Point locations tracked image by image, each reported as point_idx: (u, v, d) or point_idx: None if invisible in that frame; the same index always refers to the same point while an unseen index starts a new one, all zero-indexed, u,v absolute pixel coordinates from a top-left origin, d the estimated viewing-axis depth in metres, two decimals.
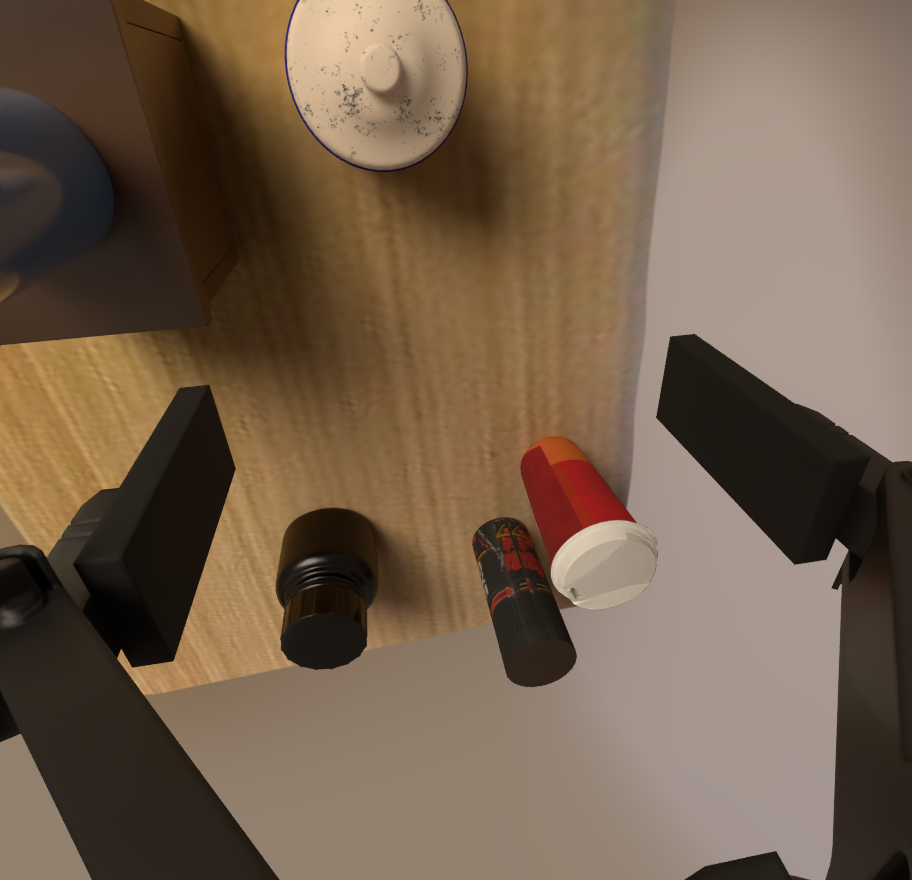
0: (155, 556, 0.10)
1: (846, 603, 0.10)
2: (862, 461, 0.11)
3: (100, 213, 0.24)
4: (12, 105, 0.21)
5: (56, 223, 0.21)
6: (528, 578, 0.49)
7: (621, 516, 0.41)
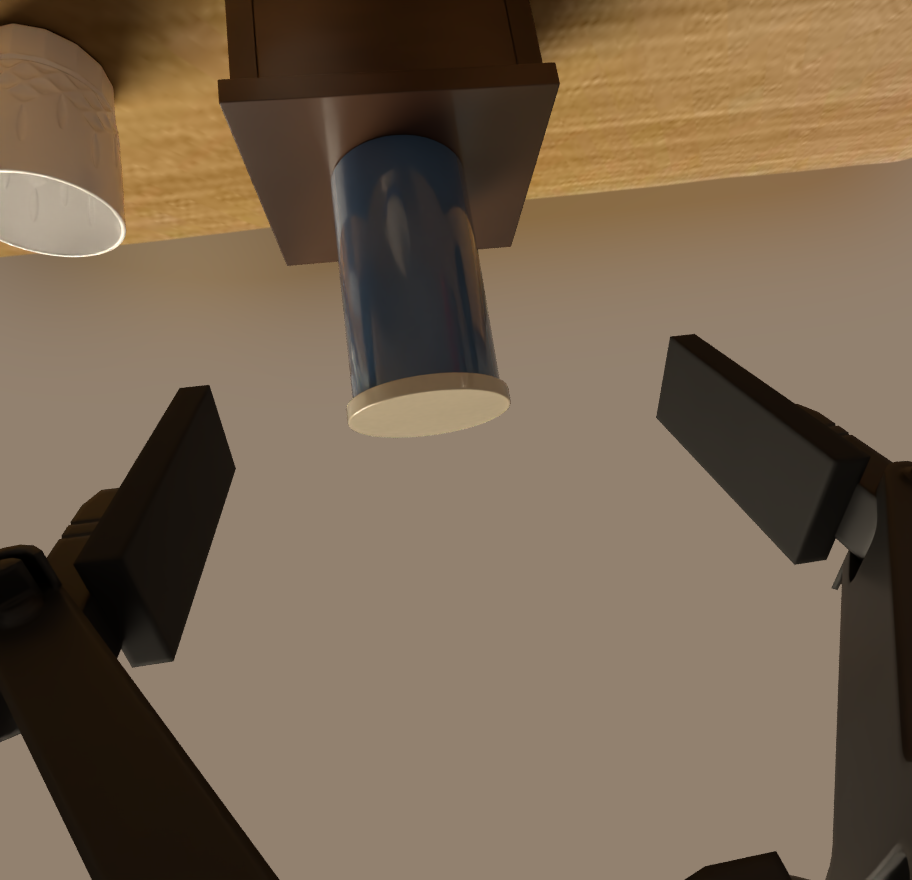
0: (155, 556, 0.10)
1: (846, 603, 0.10)
2: (862, 461, 0.11)
3: (428, 166, 0.26)
4: (345, 213, 0.26)
5: (433, 245, 0.25)
6: None
7: None
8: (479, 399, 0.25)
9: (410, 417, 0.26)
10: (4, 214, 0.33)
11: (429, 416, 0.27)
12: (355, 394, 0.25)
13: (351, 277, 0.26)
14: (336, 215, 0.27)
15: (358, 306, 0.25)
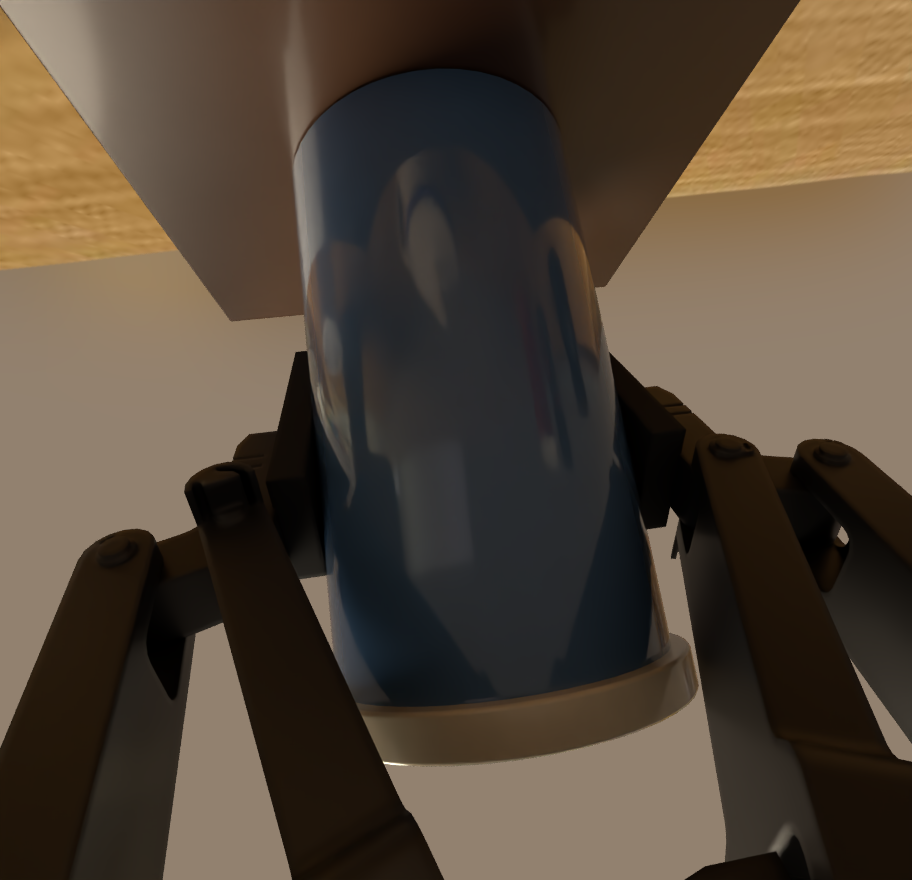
0: (314, 484, 0.12)
1: (687, 574, 0.11)
2: (679, 433, 0.12)
3: (508, 142, 0.11)
4: (320, 246, 0.12)
5: (529, 329, 0.10)
6: None
7: None
8: None
9: None
10: None
11: None
12: None
13: (330, 395, 0.11)
14: (301, 248, 0.13)
15: (346, 471, 0.11)
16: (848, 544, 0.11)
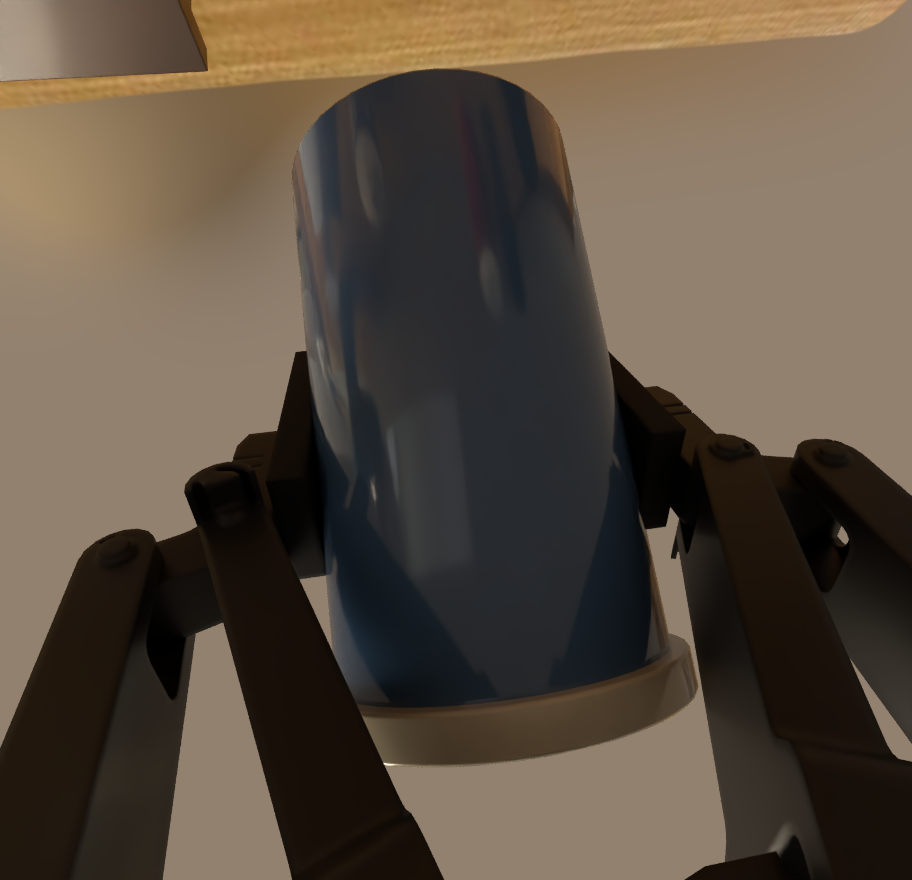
0: (315, 484, 0.12)
1: (687, 574, 0.11)
2: (679, 433, 0.12)
3: (508, 142, 0.11)
4: (319, 247, 0.12)
5: (529, 329, 0.10)
6: None
7: None
8: None
9: None
10: None
11: None
12: None
13: (330, 396, 0.11)
14: (301, 249, 0.13)
15: (346, 472, 0.11)
16: (848, 544, 0.11)
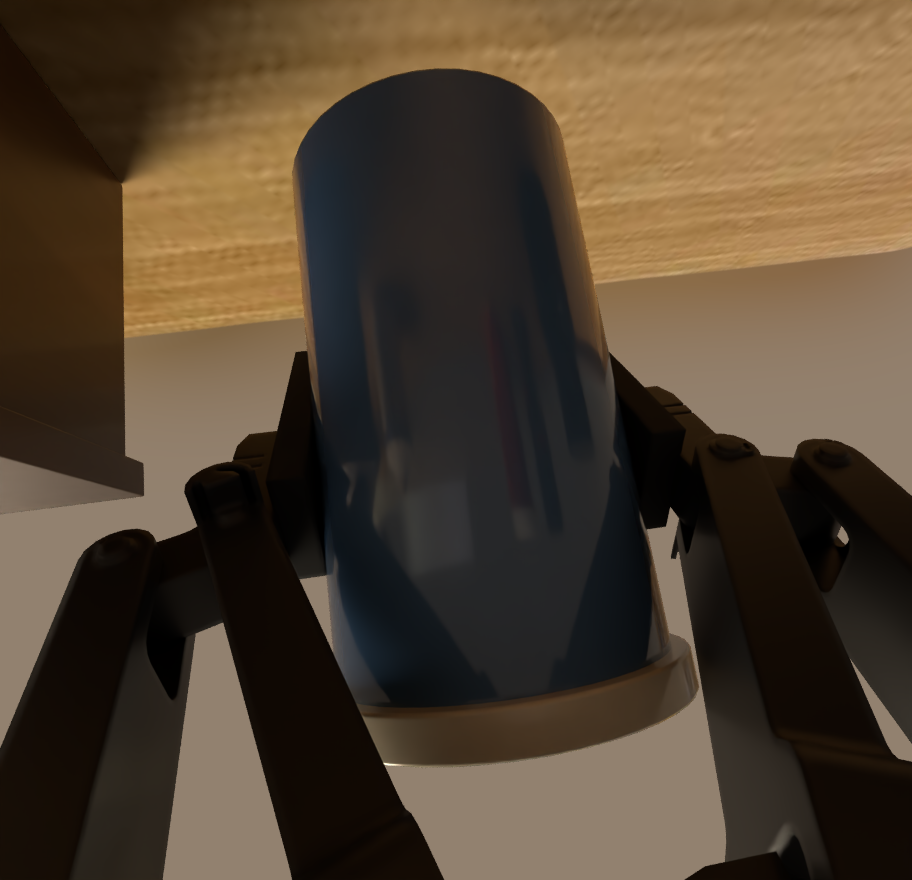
0: (314, 484, 0.12)
1: (687, 574, 0.11)
2: (679, 433, 0.12)
3: (509, 142, 0.11)
4: (320, 247, 0.12)
5: (529, 329, 0.10)
6: None
7: None
8: None
9: None
10: None
11: None
12: None
13: (330, 396, 0.11)
14: (301, 249, 0.13)
15: (346, 472, 0.11)
16: (848, 544, 0.11)
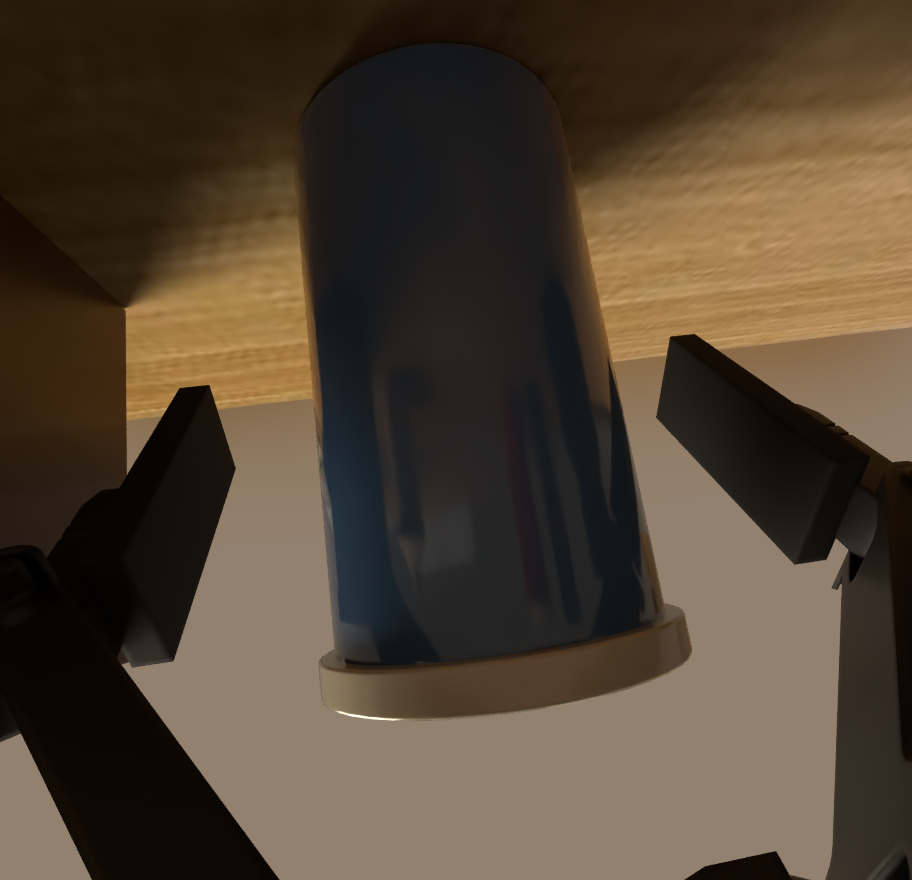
0: (155, 556, 0.10)
1: (846, 603, 0.10)
2: (862, 461, 0.11)
3: (506, 116, 0.12)
4: (320, 219, 0.12)
5: (525, 297, 0.10)
6: None
7: None
8: None
9: None
10: None
11: None
12: (338, 642, 0.11)
13: (329, 365, 0.11)
14: (302, 223, 0.13)
15: (345, 438, 0.11)
16: None
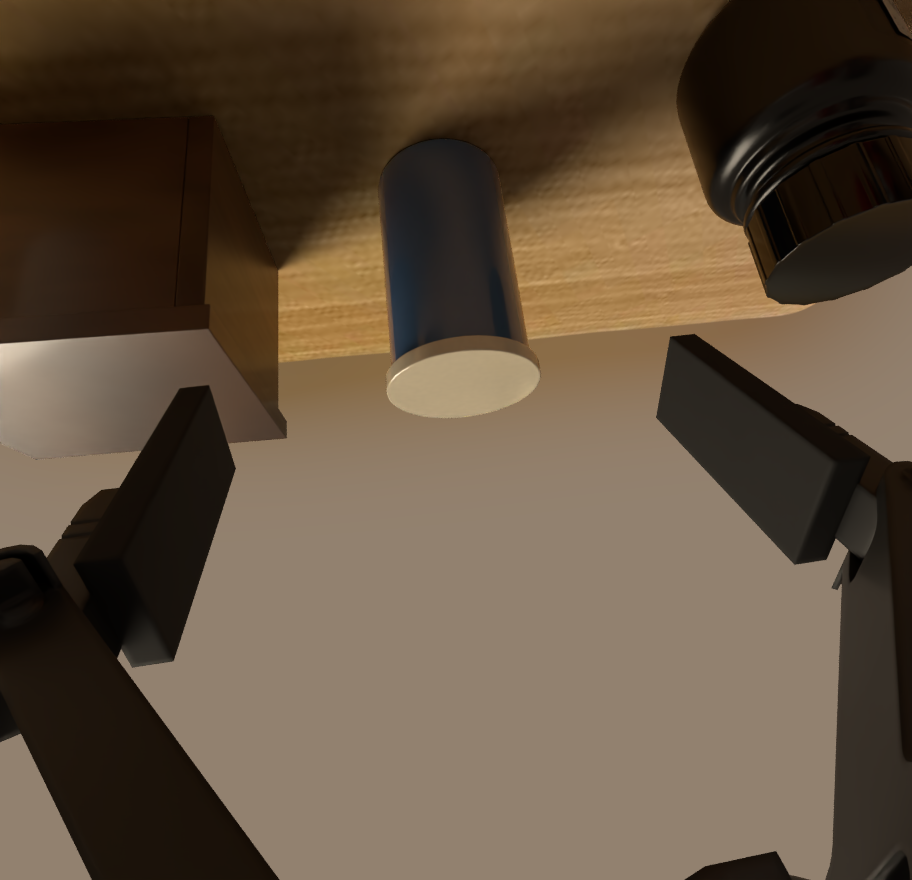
0: (155, 556, 0.10)
1: (846, 603, 0.10)
2: (862, 461, 0.11)
3: (467, 165, 0.29)
4: (392, 206, 0.29)
5: (471, 229, 0.27)
6: None
7: None
8: (511, 367, 0.27)
9: (445, 387, 0.28)
10: None
11: (463, 387, 0.28)
12: (395, 362, 0.27)
13: (394, 259, 0.28)
14: (383, 210, 0.30)
15: (400, 282, 0.28)
16: None
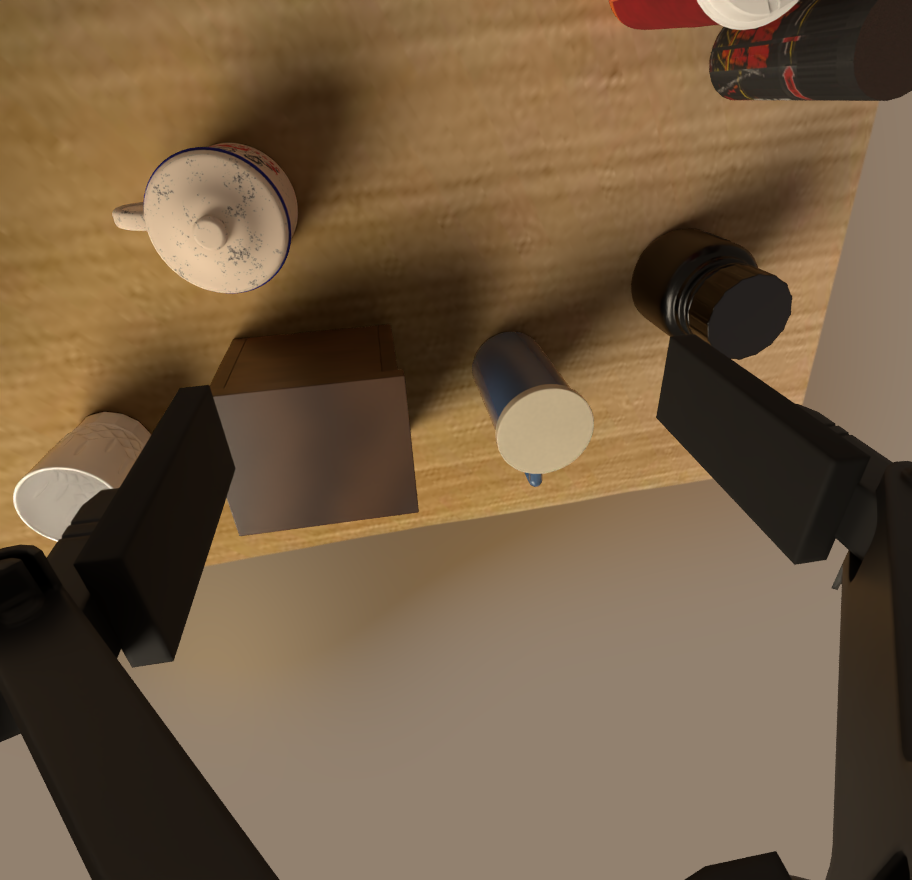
0: (154, 556, 0.10)
1: (846, 603, 0.10)
2: (862, 461, 0.11)
3: (526, 339, 0.51)
4: (485, 361, 0.50)
5: (535, 356, 0.48)
6: (784, 37, 0.36)
7: None
8: (574, 408, 0.43)
9: (534, 431, 0.43)
10: (45, 515, 0.46)
11: (545, 432, 0.43)
12: None
13: (491, 377, 0.48)
14: (478, 368, 0.51)
15: (498, 383, 0.46)
16: None
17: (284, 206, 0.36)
